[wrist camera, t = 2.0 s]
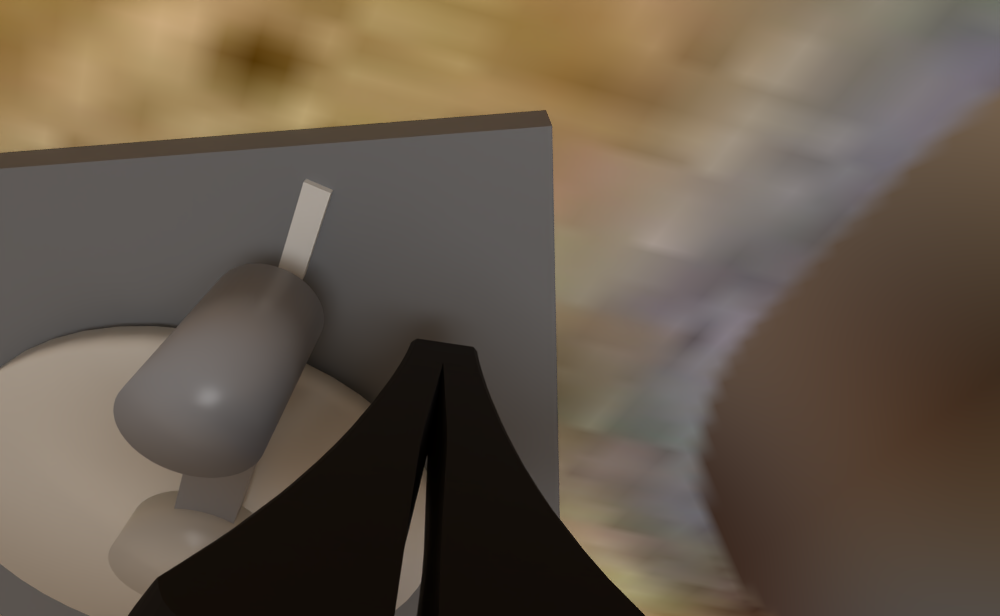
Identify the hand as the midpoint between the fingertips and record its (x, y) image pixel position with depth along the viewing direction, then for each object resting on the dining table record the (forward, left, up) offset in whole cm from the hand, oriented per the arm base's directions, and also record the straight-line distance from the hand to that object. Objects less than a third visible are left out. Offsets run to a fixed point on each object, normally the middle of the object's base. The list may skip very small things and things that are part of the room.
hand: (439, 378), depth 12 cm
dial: (-5, +7, -2) cm, 9 cm away
